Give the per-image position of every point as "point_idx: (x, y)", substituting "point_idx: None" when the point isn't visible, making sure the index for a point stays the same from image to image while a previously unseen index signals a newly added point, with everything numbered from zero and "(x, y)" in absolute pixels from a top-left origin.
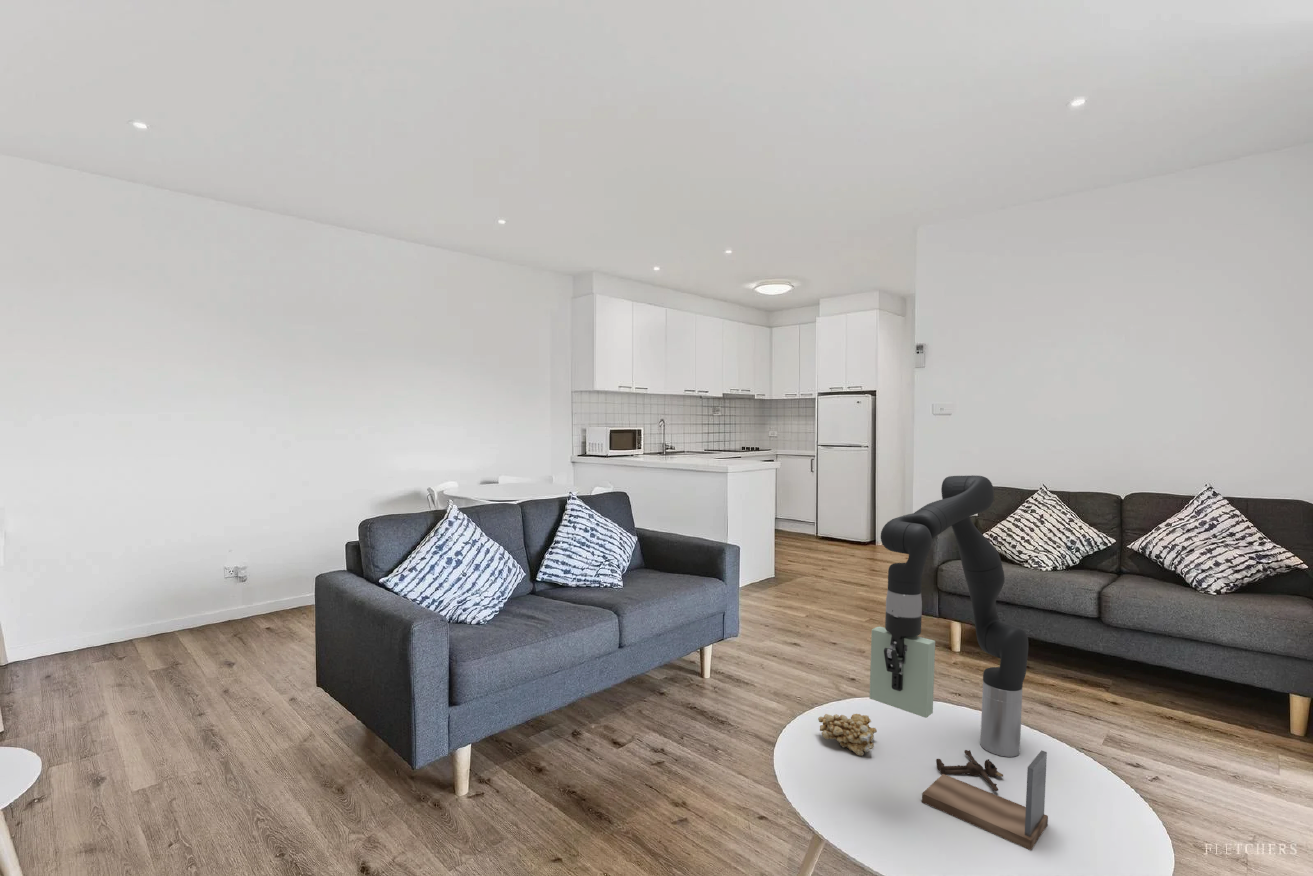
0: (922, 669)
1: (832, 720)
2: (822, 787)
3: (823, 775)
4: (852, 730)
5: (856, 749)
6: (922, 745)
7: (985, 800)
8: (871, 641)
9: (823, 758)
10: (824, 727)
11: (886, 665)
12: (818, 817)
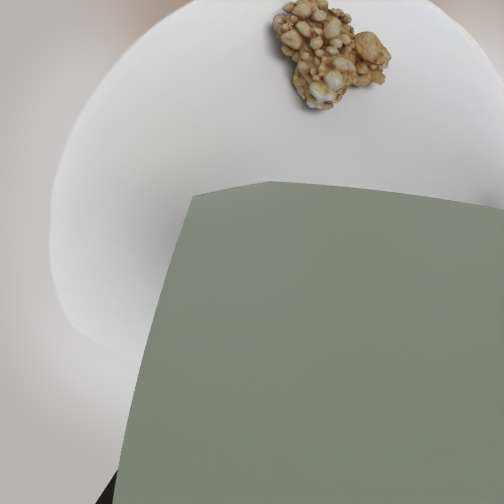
0: None
1: (301, 16)
2: (135, 129)
3: (171, 100)
4: (317, 60)
5: (298, 86)
6: (423, 151)
7: None
8: (147, 391)
9: (226, 58)
10: (291, 10)
11: (104, 496)
12: (61, 198)
